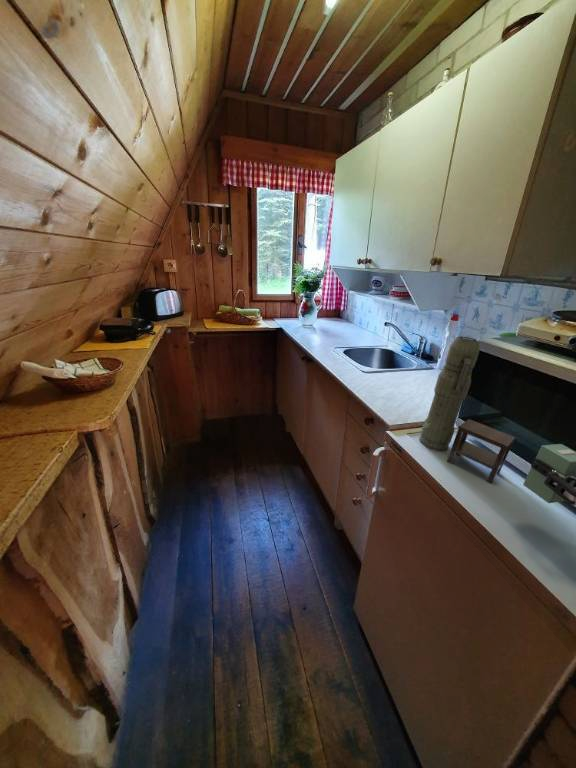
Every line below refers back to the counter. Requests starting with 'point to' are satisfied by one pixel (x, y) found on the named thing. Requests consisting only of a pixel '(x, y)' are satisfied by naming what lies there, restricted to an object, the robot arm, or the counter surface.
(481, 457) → the rack
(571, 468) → the pale green box
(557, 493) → the robot arm
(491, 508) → the counter surface
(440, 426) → the stone statue
